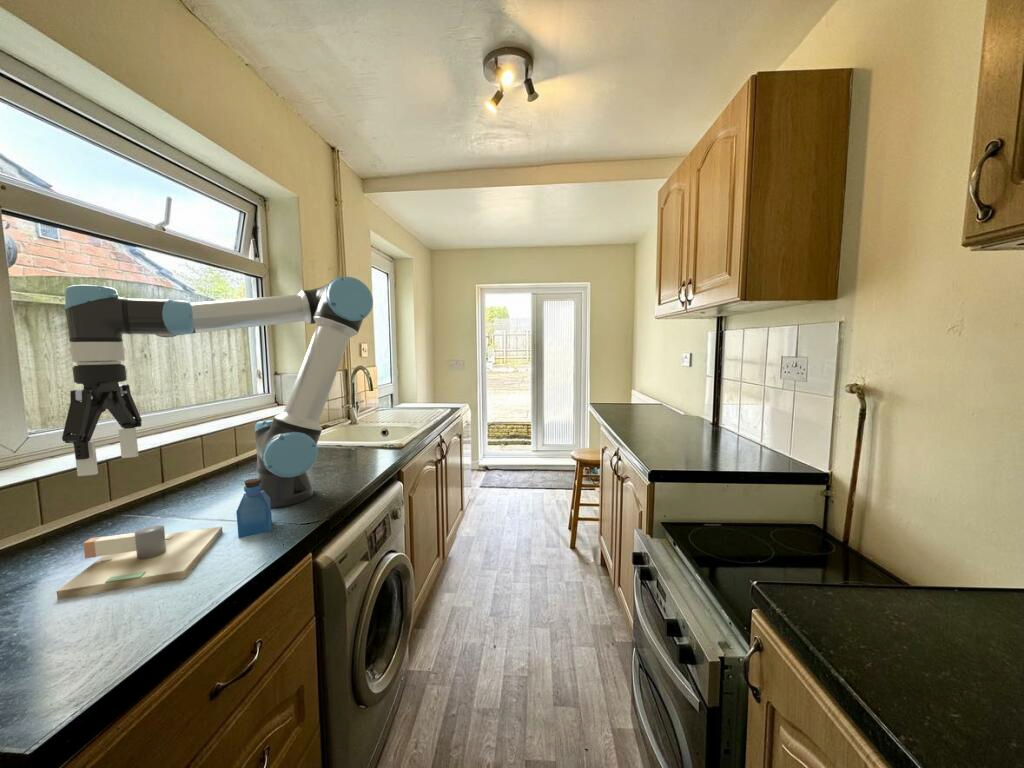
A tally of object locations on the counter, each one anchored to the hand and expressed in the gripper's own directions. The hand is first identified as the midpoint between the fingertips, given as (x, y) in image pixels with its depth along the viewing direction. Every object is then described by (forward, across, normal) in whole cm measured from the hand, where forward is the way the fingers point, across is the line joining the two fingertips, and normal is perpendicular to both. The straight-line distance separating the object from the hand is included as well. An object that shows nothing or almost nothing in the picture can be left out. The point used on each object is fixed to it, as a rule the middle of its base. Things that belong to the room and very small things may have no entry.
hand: (110, 465), depth 83 cm
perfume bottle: (+19, -2, +24) cm, 31 cm away
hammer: (+17, +7, +5) cm, 19 cm away
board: (+19, +7, +9) cm, 22 cm away
